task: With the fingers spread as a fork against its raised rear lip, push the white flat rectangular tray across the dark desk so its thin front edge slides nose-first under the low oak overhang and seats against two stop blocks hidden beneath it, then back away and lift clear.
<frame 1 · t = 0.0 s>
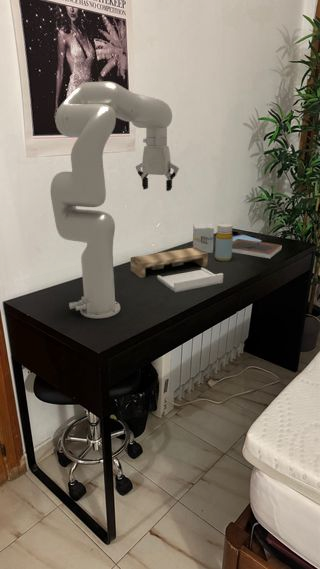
hand: (157, 189, 157), 31 cm above the table, tool pointing down, fingers open, 9 cm apart
white flat rectangular tray: (189, 281, 153), on the table
ink box: (202, 250, 190), on the table
waterproof phone case: (243, 241, 205), on the table
bottle: (223, 259, 178), on the table
book: (252, 251, 190), on the table
oak overhang: (169, 268, 167), on the table
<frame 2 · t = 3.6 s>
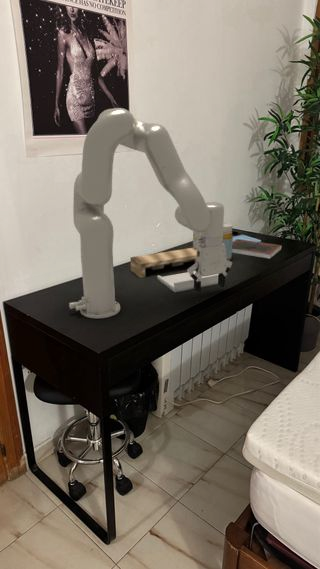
hand: (209, 288, 142), 2 cm above the table, tool pointing down, fingers open, 9 cm apart
waterproof phone case: (242, 242, 205), on the table, touching book
book: (252, 251, 190), on the table, touching waterproof phone case
everything else where it was.
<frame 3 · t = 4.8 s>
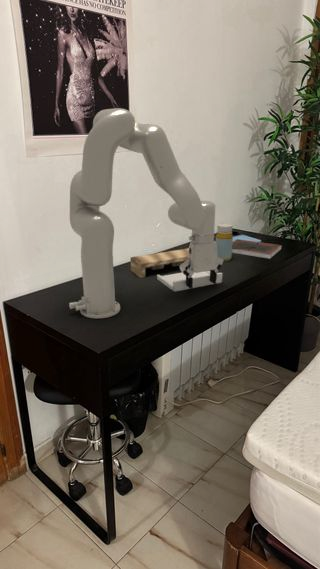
hand: (201, 284, 146), 1 cm above the table, tool pointing down, fingers open, 9 cm apart
white flat rectangular tray: (189, 280, 154), on the table, touching gripper
everything else where it was.
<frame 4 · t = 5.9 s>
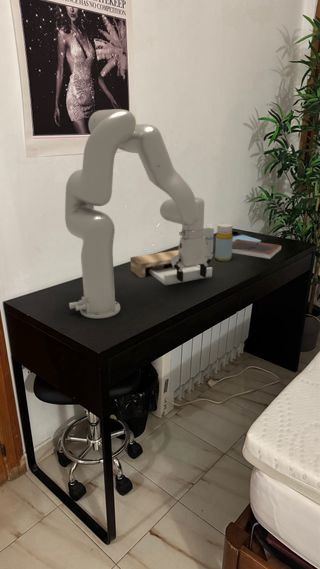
hand: (191, 278, 152), 1 cm above the table, tool pointing down
white flat rectangular tray: (180, 274, 160), on the table, touching gripper
everything else where it was.
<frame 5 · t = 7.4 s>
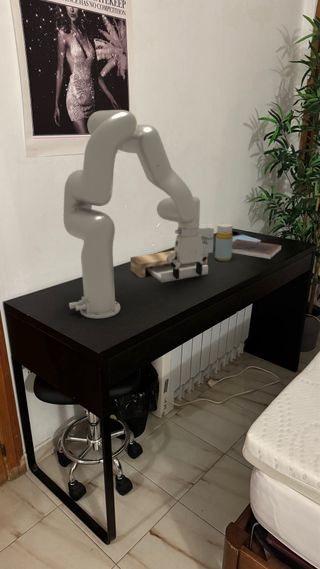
hand: (187, 275, 154), 1 cm above the table, tool pointing down
white flat rectangular tray: (176, 272, 162), on the table, touching gripper, oak overhang
waterproof phone case: (242, 241, 205), on the table
book: (252, 251, 190), on the table
everything else where it was.
when the fingers open (1 cm above the table, at t = 8.2 s): white flat rectangular tray stays where it is, on the table.
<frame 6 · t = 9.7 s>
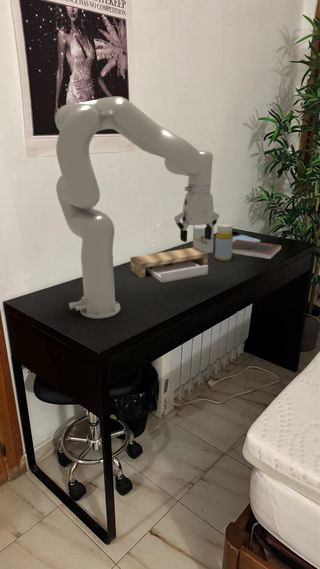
hand: (195, 239, 143), 17 cm above the table, tool pointing down, fingers open, 9 cm apart
white flat rectangular tray: (176, 272, 162), on the table
everything else where it was.
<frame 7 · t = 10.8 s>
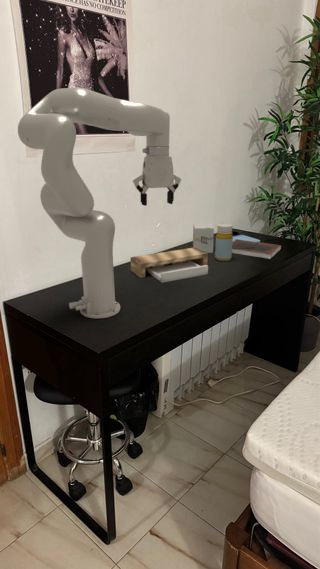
hand: (157, 204, 142), 29 cm above the table, tool pointing down, fingers open, 9 cm apart
nothing on the table moved.
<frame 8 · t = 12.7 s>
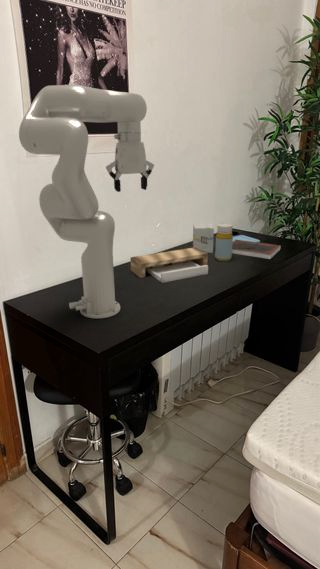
hand: (131, 190, 143), 33 cm above the table, tool pointing down, fingers open, 9 cm apart
waterproof phone case: (242, 242, 205), on the table, touching book
book: (251, 251, 189), on the table, touching waterproof phone case
everything else where it was.
at the end: white flat rectangular tray inside the target area (0.2 cm from its centre), on the table; white flat rectangular tray tilted 0° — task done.
